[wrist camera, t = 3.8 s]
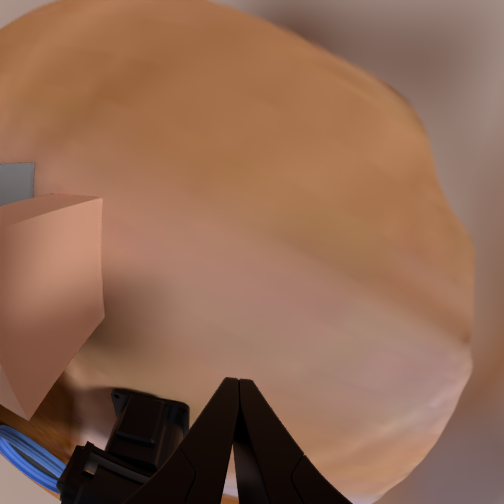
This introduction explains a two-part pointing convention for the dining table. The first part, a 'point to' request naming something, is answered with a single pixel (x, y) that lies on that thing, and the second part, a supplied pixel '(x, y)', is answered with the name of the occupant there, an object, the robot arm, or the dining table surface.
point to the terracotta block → (46, 292)
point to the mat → (16, 182)
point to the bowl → (30, 458)
